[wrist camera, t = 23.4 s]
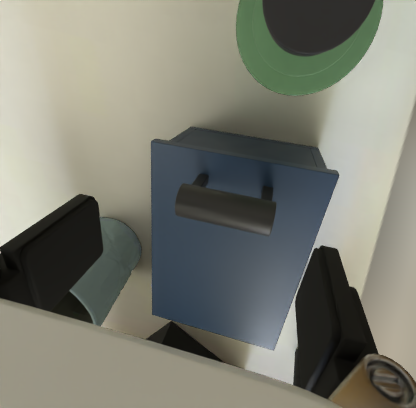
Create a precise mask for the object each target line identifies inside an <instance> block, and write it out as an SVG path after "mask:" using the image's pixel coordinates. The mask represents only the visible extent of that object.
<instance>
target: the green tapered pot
mask: <svg viewBox="0 0 416 408" xmlns="http://www.w3.org/2000/svg"><path fill="white" fill-rule="evenodd" d="M100 224H101V232H102V240H103V253H102V255H101V256H100V257H99V259H98V260H97V261H96V262H95V263H94V264H93V265H92V266H91V267H90V268H89V270H88V271H87V272H86V273H85V274H84V275H83V276H82V277H81V278H80V279H79V281H78V282H77V283H76V284H75V285H74V286H73V287H72V288H71V289H70V290H69V292H68V293H67V294H66V295H65V296H64V297H63V298H62V299H61V300H60V301H59V303H58V304H57V305H56V306H55V307H54V308H53V309H52V310H51V311H50V312H52V313H56V314H59V315H63V316H66V317H70V318H73V319H77V320H80V321H84V322H87V323H91V324H94V325H97V326H101V325H102V324H103V322H104V320H105V318H106V316H107V315H108V313H109V311H110V309H111V307H112V305H113V304H114V302H115V301H116V299H117V297H118V296H119V294H120V290H122V289H123V287H124V285H125V283H126V282H127V280H128V278H129V277H130V275H131V271H132V270H133V269H134V268H135V266H136V265H137V263H138V261H139V259H140V256H141V245H140V242H139V240H138V238H137V236H136V235H135V233H134V232H133V231H132V230H131V229H130V228H129V227H128V226H126V225H125V224H124V223H122V222H120V221H118V220H116V219H111V218H104V217H103V218H100Z"/></svg>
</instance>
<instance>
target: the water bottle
mask: <svg viewBox="0 0 416 408" xmlns="http://www.w3.org/2000/svg"><path fill="white" fill-rule="evenodd" d="M382 8H383V0H240V2H239V6H238V12H237V20H236V37H237V44H238V48H239V52H240V55H241V58H242V60H243V62H244V64H245V66H246V68H247V70H248V71H249V72H250V74H251V75H252V76H253V77H254V78H255V79H256V80H257V81H258V82H259V83H260V84H262V85H263V86H264V87H266V88H268V89H270V90H271V91H274V92H277V93H280V94H284V95H293V96H298V95H307V94H312V93H315V92H318V91H321V90H323V89H326V88H328V87H330V86H332V85H333V84H335V83H336V82H338V81H339V80H341V79H342V78H343V77H345V76H346V75H347V74H348V73H349V72H350V71H351V70H352V69H353V68H354V67H355V66H356V65H357V64H358V63H359V61H360V60H361V59H362V57H363V56H364V55H365V53H366V52H367V50H368V48H369V46H370V45H371V43H372V41H373V39H374V36H375V34H376V32H377V29H378V26H379V22H380V19H381V14H382Z"/></svg>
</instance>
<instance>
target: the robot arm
mask: <svg viewBox="0 0 416 408" xmlns="http://www.w3.org/2000/svg"><path fill="white" fill-rule="evenodd" d="M0 251H1V254H0V408H416V382H415V381H414V379H413V378H412V376H411V375H410V374H409V373H408V372H407V371H406V370H405V369H404V368H403V367H402V366H401V365H400V364H398V363H397V362H395V361H394V360H392V359H390V358H388V357H386V356H383V355H379V354H378V351H377V348H376V345H375V342H374V339H373V336H372V334H371V331H370V328H369V325H368V322H367V319H366V316H365V313H364V310H363V307H362V304H361V301H360V298H359V295H358V292H357V290H356V289H355V288H354V287H350V286H349V284H348V281H347V278H346V274H345V271H344V268H343V265H342V262H341V259H340V255H339V252H338V250H337V249H336V248H331V247H326V246H320V248H319V249H318V248H315V249H314V251H313V253H312V256H311V259H310V261H309V264H308V267H307V269H306V272H305V275H304V277H303V280H302V282H301V285H300V288H299V290H298V293H297V296H296V301H295V308H296V322H297V337H298V351H299V366H300V380H301V388H299V387H297V386H294V385H291V384H288V383H286V382H283V381H280V380H277V379H273V378H270V377H267V376H264V375H261V374H258V373H255V372H251V371H248V370H245V369H242V368H239V367H236V366H232V365H229V364H226V363H222V362H219V361H216V360H212V359H209V358H206V357H202V356H199V355H196V354H192V353H189V352H186V351H182V350H179V349H176V348H172V347H169V346H166V345H162V344H159V343H155V342H152V341H149V340H145V339H142V338H138V337H135V336H132V335H128V334H125V333H121V332H118V331H115V330H111V329H108V328H104V327H101V326H97V325H94V324H91V323H87V322H84V321H80V320H77V319H73V318H70V317H66V316H63V315H59V314H56V313H52V312H50V311H51V310H52V309H53V308H54V307H55V306H56V305H57V304H58V303H59V301H60V300H61V299H62V298H63V297H64V296H65V295H66V294H67V293H68V292H69V290H70V289H71V288H72V287H73V286H74V285H75V284H76V283H77V282H78V281H79V279H80V278H81V277H82V276H83V275H84V274H85V273H86V272H87V271H88V270H89V268H90V267H91V266H92V265H93V264H94V263H95V262H96V261H97V260H98V259H99V257H100V256H101V255H102V253H103V240H102V232H101V224H100V215H99V207H98V202H97V201H96V200H95V198H94V197H92V196H88V195H83V194H79V195H77V196H76V197H74V198H73V199H71V200H70V201H68V202H67V203H65V204H64V205H62V206H61V207H59V208H58V209H56V210H55V211H53V212H52V213H50V214H49V215H47V216H46V217H44V218H43V219H41V220H40V221H38V222H37V223H35V224H34V225H32V226H31V227H29V228H28V229H26V230H25V231H23V232H22V233H20V234H19V235H18V236H16V237H15V238H13V239H12V240H10V241H9V242H7V243H6V244H4V245H3V246H1V247H0Z"/></svg>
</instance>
